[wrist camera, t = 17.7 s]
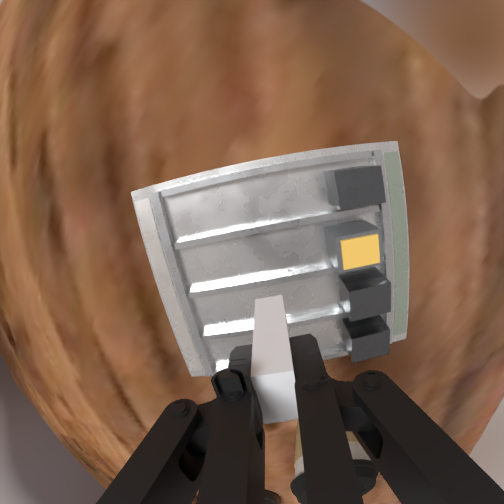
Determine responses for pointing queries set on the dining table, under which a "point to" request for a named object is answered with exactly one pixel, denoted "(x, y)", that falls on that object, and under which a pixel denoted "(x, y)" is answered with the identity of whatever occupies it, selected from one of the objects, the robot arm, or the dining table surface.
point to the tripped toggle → (354, 245)
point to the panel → (279, 251)
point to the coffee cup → (361, 462)
